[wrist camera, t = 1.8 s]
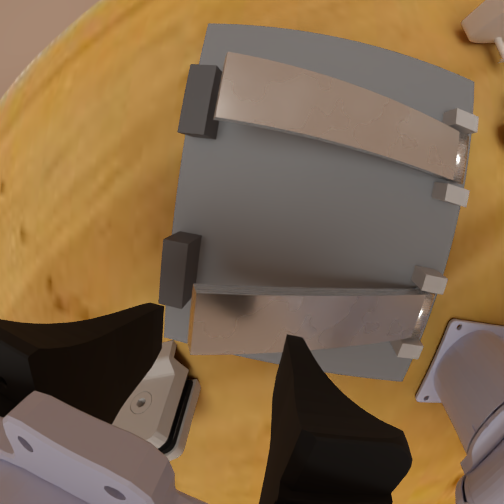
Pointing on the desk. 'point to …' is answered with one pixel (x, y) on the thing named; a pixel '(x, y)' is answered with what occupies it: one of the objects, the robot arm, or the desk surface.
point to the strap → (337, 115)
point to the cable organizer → (487, 24)
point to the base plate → (311, 193)
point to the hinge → (162, 405)
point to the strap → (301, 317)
